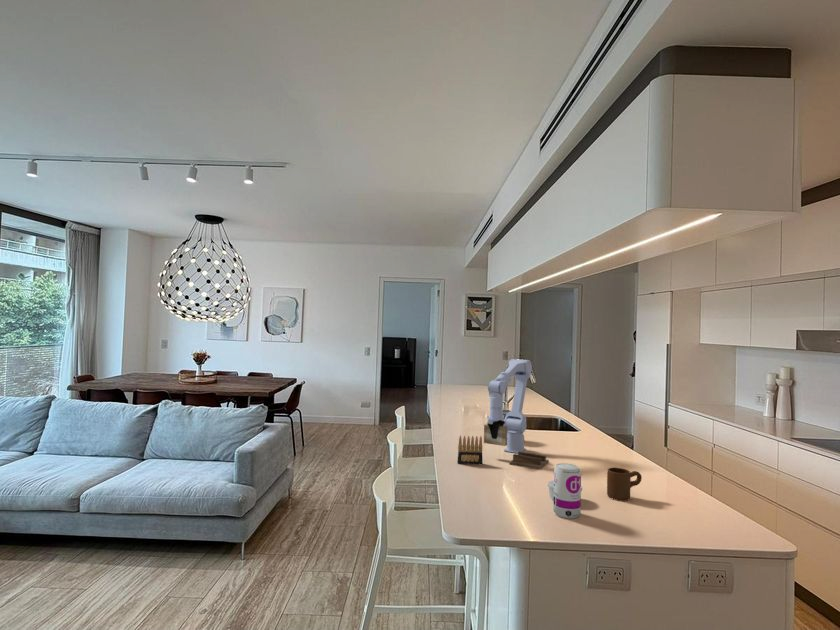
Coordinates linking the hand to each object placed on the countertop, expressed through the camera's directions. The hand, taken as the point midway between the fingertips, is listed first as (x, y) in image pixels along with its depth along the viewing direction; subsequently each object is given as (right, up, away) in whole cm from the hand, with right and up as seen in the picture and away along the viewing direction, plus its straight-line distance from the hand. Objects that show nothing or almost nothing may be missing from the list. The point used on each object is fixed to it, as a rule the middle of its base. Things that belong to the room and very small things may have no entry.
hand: (495, 437), depth 218 cm
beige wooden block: (0, -3, 0) cm, 3 cm away
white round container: (+15, -9, -52) cm, 55 cm away
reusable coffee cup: (+10, -11, +37) cm, 40 cm away
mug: (+38, -9, -48) cm, 61 cm away
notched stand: (+14, -10, -6) cm, 18 cm away
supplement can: (+12, -8, -65) cm, 67 cm away
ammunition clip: (-13, -9, -9) cm, 18 cm away
